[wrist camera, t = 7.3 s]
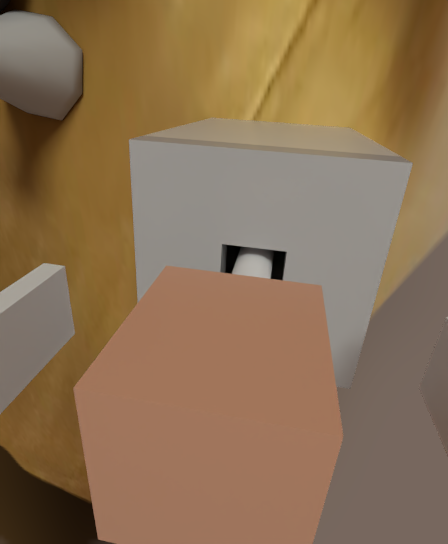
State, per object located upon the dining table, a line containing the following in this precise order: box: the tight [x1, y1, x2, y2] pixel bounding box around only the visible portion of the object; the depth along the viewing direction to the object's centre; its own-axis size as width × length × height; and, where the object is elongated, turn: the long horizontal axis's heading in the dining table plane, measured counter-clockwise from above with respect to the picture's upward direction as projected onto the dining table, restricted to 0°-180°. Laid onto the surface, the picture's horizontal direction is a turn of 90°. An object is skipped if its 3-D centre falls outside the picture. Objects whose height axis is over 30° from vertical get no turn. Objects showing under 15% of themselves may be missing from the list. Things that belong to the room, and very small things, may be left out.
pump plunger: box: [73, 246, 343, 544], centre depth 16 cm, size 4×4×20 cm
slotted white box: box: [129, 118, 413, 389], centre depth 22 cm, size 10×10×16 cm
